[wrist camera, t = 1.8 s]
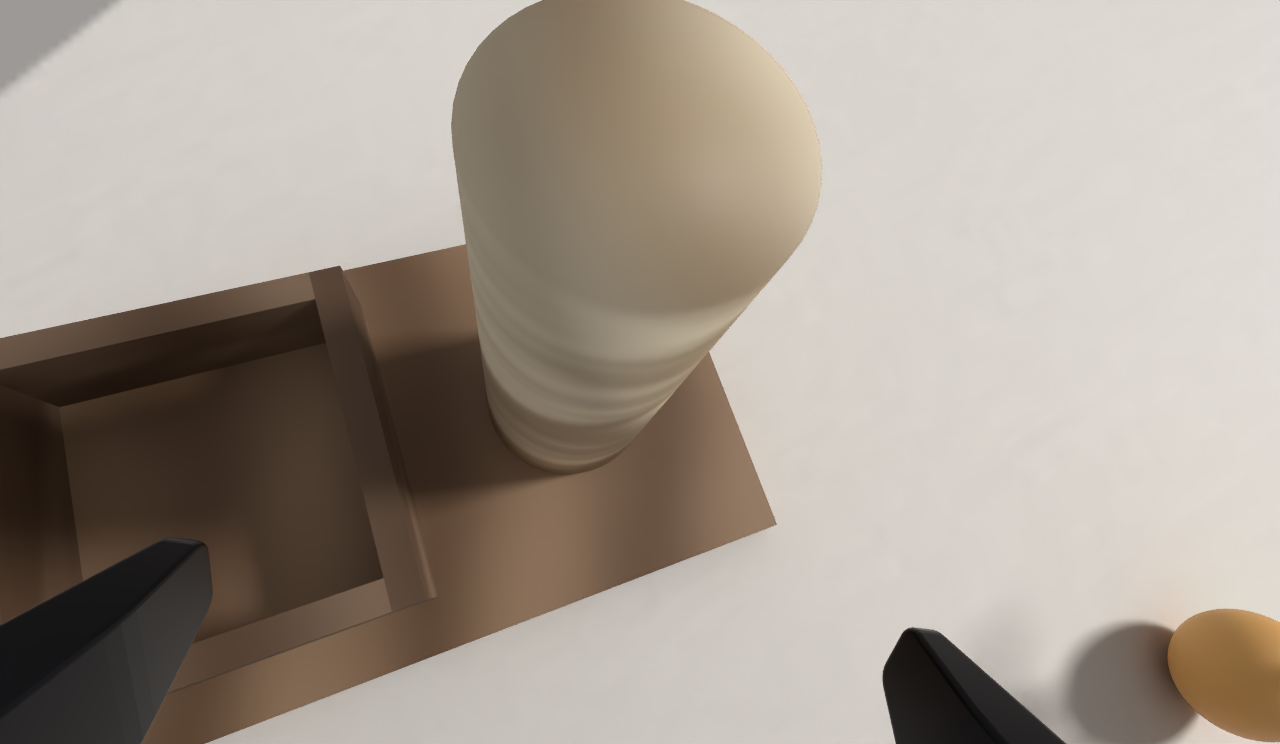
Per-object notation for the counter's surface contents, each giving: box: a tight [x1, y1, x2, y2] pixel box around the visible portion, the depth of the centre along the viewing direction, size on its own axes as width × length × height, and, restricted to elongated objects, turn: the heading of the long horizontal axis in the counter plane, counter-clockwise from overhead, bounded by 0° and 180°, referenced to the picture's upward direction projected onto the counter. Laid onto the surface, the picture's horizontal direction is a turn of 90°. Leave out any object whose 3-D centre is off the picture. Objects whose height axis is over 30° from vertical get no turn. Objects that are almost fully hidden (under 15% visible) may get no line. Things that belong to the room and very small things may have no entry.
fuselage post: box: [451, 0, 822, 474], centre depth 15 cm, size 5×5×13 cm
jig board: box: [0, 244, 777, 744], centre depth 19 cm, size 20×12×4 cm, turn 110°
